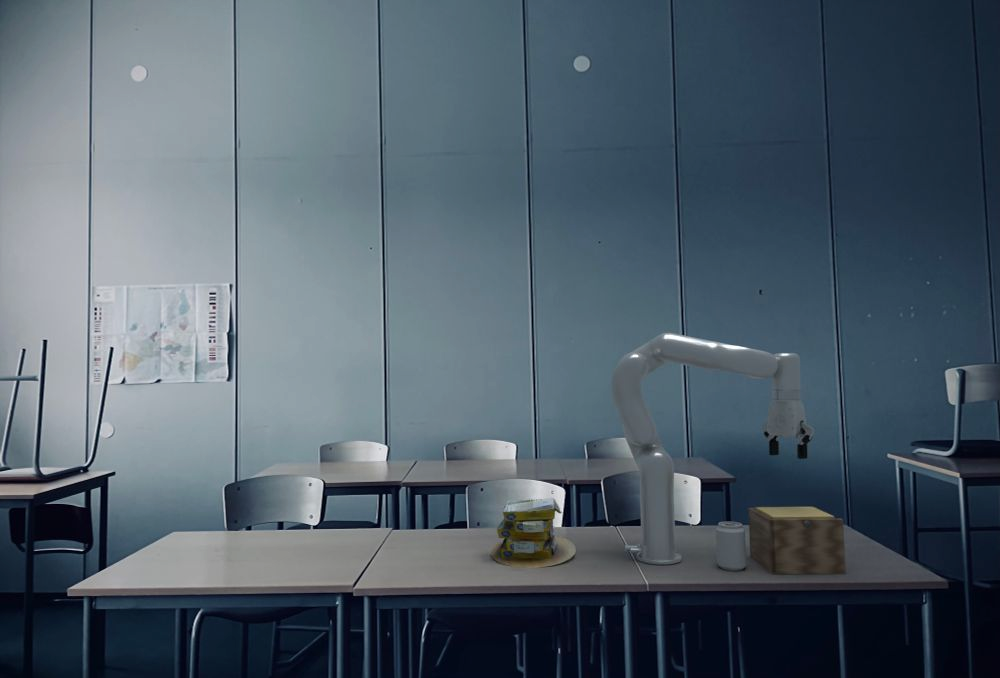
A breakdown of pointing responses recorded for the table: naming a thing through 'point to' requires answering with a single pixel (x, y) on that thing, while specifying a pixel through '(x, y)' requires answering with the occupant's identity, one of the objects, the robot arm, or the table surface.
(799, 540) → the trapdoor frame
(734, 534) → the can
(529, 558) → the stacked yellow boxes
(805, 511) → the trapdoor flap
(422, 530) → the table surface
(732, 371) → the robot arm
